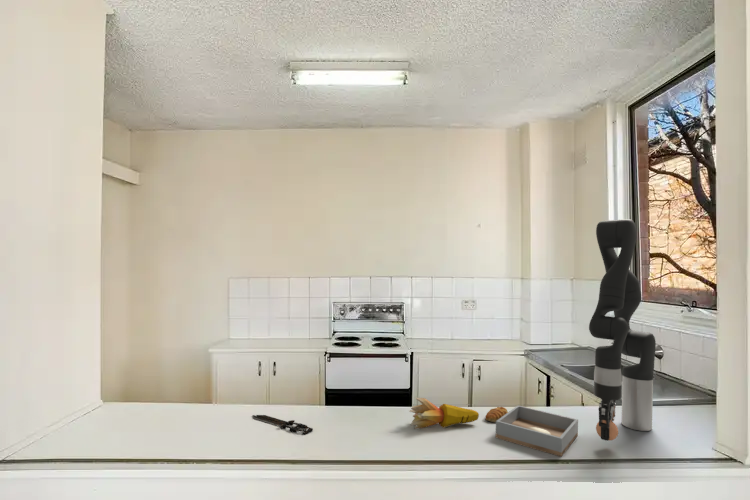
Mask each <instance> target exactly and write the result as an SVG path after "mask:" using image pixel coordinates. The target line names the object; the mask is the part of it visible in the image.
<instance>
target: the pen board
mask: <svg viewBox="0 0 750 500" xmlns="http://www.w3.org/2000/svg"><path fill="white" fill-rule="evenodd" d="M512 425H516V426H520V427H523V428H527V429H531V430H535V431H538V432H542V433H546V434H550V435H554V436H557V437H560V436H561V435H562V434H563V433H564V432H565V431H566V430H565V429H561V428H557V427H553V426H550V425H546V424H542V423H538V422H534V421H530V420H526V419H522V418H518V419H517V420H516V421H514V422H513V423H512ZM578 435H579V431H578V432H577V434H576V435H575V436H574V437H573V439H572V440H571V441H570V442H569V444H568V445H567V446H566V447H565V449H564V450H563V451H562V453H561V452H558V451H554V450H551V449H547V448H544V447H540V446H537V445H533V444H530V443H526V442H523V441H519V440H516V439H512V438H509V437H505V436H502V435H498V434H496V433H495V438H496V439H500V440H502V441H506V442H510V443H512V444H517V445H521V446H524V447H527V448H530V449H533V450H537V451H539V452H540V451H541V452H544V453H546V454H547V453H548V454H551V455H555V456H558V457H563V455H564V454H565V453H566V451H567V450H568V449H569V447H571V445H572V444H573V442H574V441H575V440H576V438H577V437H579V436H578Z"/></svg>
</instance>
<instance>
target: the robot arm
mask: <svg viewBox="0 0 750 500" xmlns="http://www.w3.org/2000/svg"><path fill="white" fill-rule="evenodd" d="M595 228H596V229H595V235H596V240H597V244H598V245H597V246H598V248H599V251H600V252H599V253H600V255H601V258H602V261H603V265H604V270H605V274H604V275H603V276H602V279H601V282H600V284H599V285H600V286H599V293H598V301H597V304H596V308H595V310H594V312H593V315H591V316H592V317H591V319H590V321H589V325H588V330H589V333H590V335H591V336H592V337H594V338H596V339H603V340H609V341H613V343H612V344H611V345H602V346H598V347H596V348H595V352H594V354H595V360H594V361H595V362H594V365H595V366H594V370H593V371H594V372H593V394H594V396H595V397H597V398H600V399H601V400H600V402H599V404H598V422H599V426H600V427H601V437H600V439H601V440H603V441H608V440H609V428H610V421H612V422H613V423H614V421H615V418H616V406H617V404H616V401H619V400H621V425H622V426H624V427H626V428H628V429H630V430H635V431H642V432H648V431H652V430H653V403H654V402H653V401H654V399H653V398H654V393H653V392H654V385H653V384H654V372H655V361H656V359H655V358H656V346H657V344H656V337H655V336H654V334H653V333H651V332H645V331H640V330H633V329H631V328H630V320H631V318H632V317H633V315H634V313H635V312H636V311H637V309H638V308H639V306H640V304H641V301H642V292H641V287H640V281H639V279H638V278H637V276H636V275H635V274H634V273H633V271H631V270H630V267H631V264H632V260H633V256H634V251H635V248H636V244H637V243H636V242H637V238H638V236H637V235H638V232H637V225H636V223H635V222H634V220H633V219H629V218H623V219H611V220H610V219H609V220H602V221H599V222H598V223H597V225H596V227H595ZM615 249H620V251H619V254H617V253H616V250H615ZM609 312H610V313H611V312H613V314H614V315H613V316H607V314H608V313H609ZM622 355H624V356H628V357H633V358H638V359H639V363H637V364H631V365H629V364H628V365H625V366H623V367H622ZM603 420H605V421H606V423H603ZM608 442H609V441H608Z"/></svg>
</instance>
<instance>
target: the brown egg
mask: <svg viewBox="0 0 750 500" xmlns="http://www.w3.org/2000/svg"><path fill="white" fill-rule="evenodd" d="M603 423H606V421H605V420H603ZM595 430H596V433H597V435H598V436H599V437H600V438H601V427H600V426H599V421H598V422H597V423H596V426H595ZM618 435H619V428H618V427H617V425H616V423H615V422H614V421H613V422H612V421H610V428H609V440H608V442H609V441H613V440H615V439H616V438H617V437H618Z"/></svg>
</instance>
